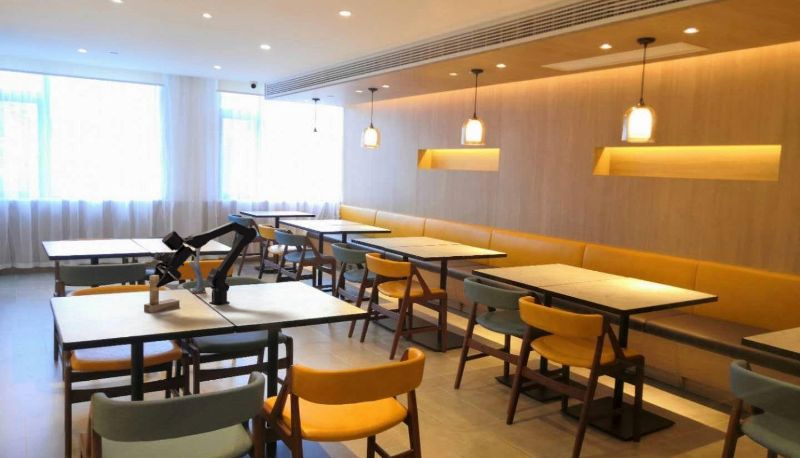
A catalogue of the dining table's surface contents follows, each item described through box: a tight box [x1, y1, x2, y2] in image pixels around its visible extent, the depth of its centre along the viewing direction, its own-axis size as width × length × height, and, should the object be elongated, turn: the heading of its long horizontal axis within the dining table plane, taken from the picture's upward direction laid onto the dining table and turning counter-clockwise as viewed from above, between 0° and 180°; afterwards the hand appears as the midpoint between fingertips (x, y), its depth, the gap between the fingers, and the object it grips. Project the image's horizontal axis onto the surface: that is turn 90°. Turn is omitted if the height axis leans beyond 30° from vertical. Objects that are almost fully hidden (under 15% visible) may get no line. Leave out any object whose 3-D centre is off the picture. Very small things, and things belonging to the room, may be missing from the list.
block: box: [143, 298, 180, 314], centre depth 247 cm, size 5×14×3 cm, turn 151°
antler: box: [189, 247, 207, 294], centre depth 286 cm, size 12×8×25 cm
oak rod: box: [149, 274, 160, 305], centre depth 243 cm, size 4×4×12 cm
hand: (153, 285), depth 243 cm, fingers open, 9 cm apart
